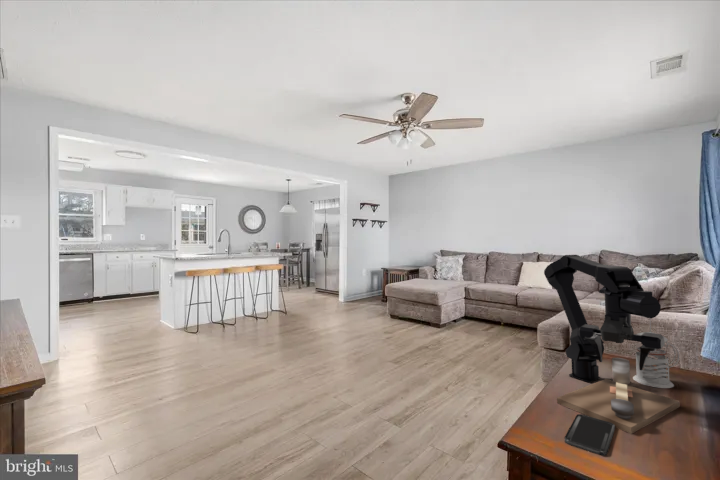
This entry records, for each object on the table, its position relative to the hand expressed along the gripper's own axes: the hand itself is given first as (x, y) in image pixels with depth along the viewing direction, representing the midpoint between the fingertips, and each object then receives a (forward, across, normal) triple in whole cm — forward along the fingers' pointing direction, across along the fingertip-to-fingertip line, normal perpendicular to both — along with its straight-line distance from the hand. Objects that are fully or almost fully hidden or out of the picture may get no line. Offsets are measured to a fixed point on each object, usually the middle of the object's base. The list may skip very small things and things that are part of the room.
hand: (620, 365), depth 95 cm
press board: (+9, 0, -6) cm, 11 cm away
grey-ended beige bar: (+6, +2, -8) cm, 10 cm away
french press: (+9, +4, +20) cm, 23 cm away
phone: (+10, 0, -27) cm, 29 cm away
